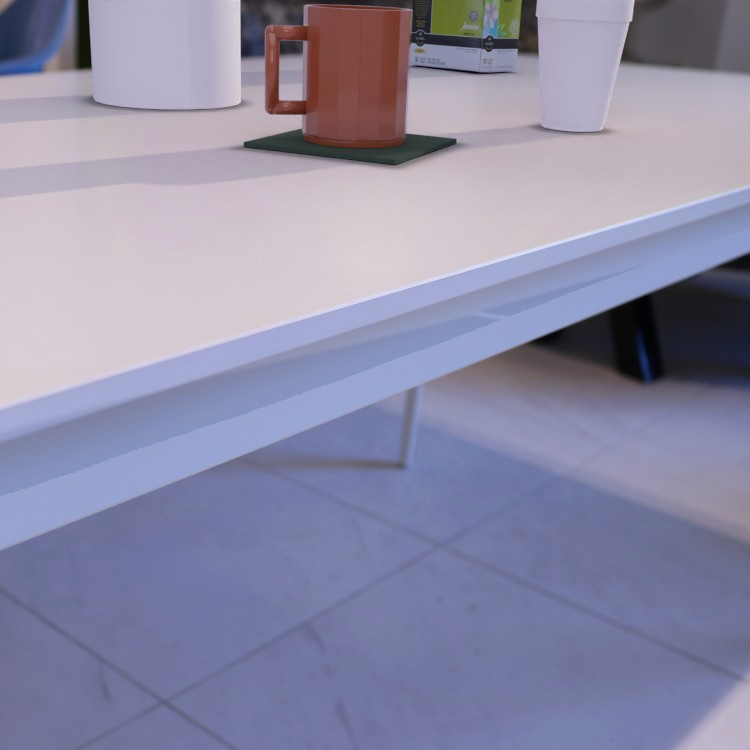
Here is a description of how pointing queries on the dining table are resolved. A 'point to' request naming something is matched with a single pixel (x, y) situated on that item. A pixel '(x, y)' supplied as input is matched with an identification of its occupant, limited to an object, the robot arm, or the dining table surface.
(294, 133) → the mat
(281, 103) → the faceted clay mug
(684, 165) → the dining table surface
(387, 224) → the dining table surface
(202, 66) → the canister
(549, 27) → the foam cup
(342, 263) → the dining table surface
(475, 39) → the tea box
